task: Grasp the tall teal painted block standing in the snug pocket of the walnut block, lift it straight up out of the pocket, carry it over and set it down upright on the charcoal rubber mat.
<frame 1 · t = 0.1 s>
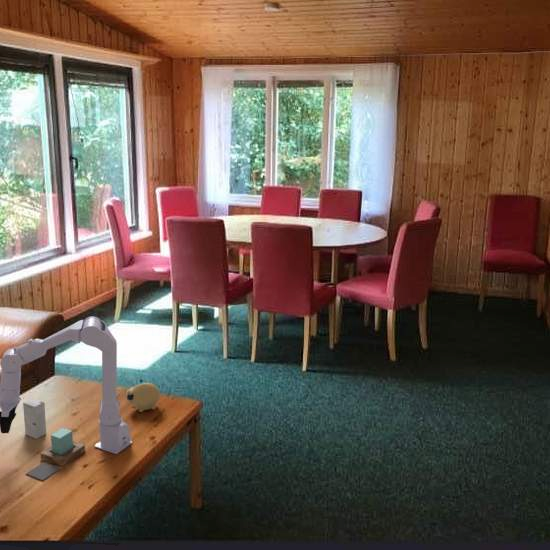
hand: (7, 426, 186), 11 cm above the table, tool pointing down, fingers open, 7 cm apart
teal block: (63, 455, 190), resting in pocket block
skincare box: (36, 434, 201), on the table
cream rounded figure: (143, 409, 219), on the table
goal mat: (43, 471, 181), on the table
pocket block: (63, 454, 190), on the table
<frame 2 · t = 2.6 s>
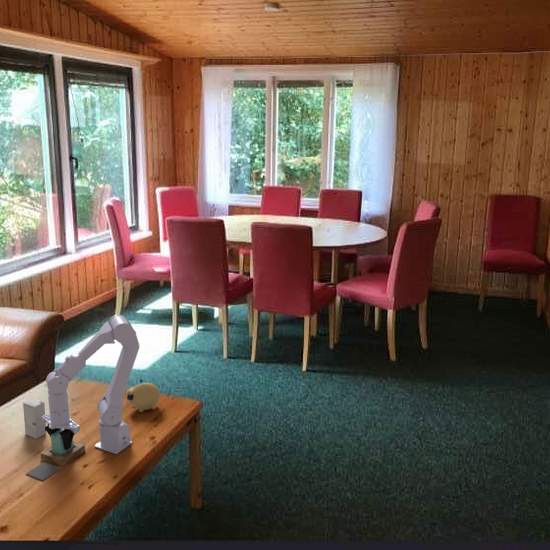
hand: (62, 446, 189), 3 cm above the table, tool pointing down, fingers closed on teal block, 4 cm apart
teal block: (63, 454, 190), resting in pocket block, touching gripper
everything else where it was.
when the fingers open (5 cm above the table, at t = 6.3 s): teal block stays where it is, resting on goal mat.
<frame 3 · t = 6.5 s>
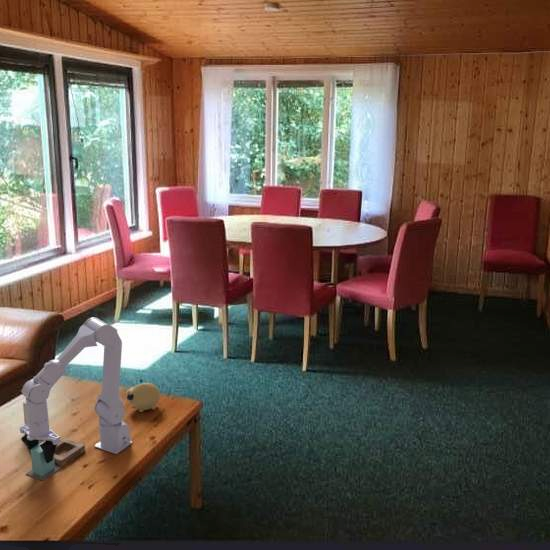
hand: (42, 458, 179), 5 cm above the table, tool pointing down, fingers open, 6 cm apart
teal block: (43, 470, 181), resting on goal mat
everything else where it was.
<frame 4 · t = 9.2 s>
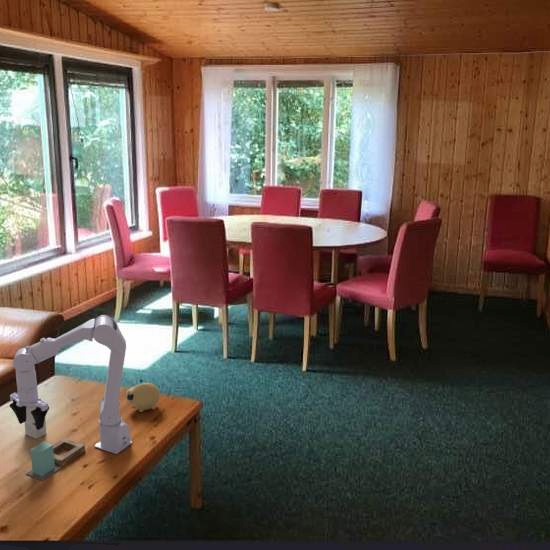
hand: (31, 425, 187), 10 cm above the table, tool pointing down, fingers open, 7 cm apart
nothing on the table moved.
at the end: teal block inside the target area on the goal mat (0.2 cm from its centre), point 0.4 cm above the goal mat's base; teal block tilted 0°; teal block touching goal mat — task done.
